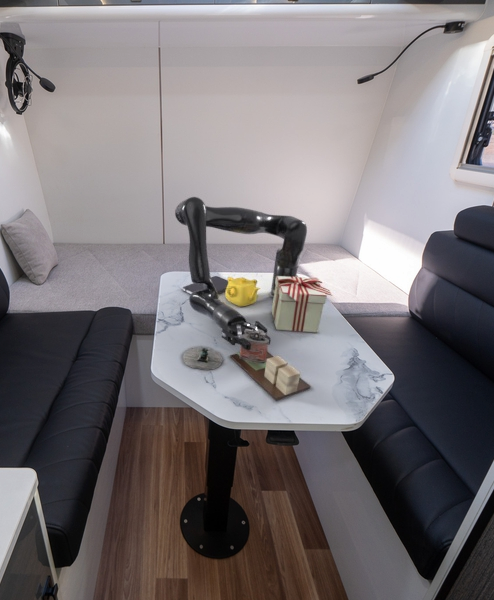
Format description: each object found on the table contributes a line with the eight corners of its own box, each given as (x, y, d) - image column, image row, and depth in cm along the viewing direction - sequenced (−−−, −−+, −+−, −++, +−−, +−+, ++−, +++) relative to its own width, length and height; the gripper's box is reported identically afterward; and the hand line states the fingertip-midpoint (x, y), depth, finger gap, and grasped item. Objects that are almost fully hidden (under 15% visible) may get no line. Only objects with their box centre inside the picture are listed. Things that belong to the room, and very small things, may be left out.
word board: (261, 348, 121) (263, 330, 118) (310, 388, 103) (314, 368, 100) (229, 357, 116) (231, 338, 113) (276, 400, 98) (279, 380, 95)
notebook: (202, 300, 152) (236, 287, 165) (202, 296, 151) (237, 283, 164) (181, 290, 161) (215, 278, 173) (181, 287, 160) (216, 275, 173)
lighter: (266, 358, 114) (270, 330, 109) (265, 365, 111) (269, 336, 106) (240, 353, 116) (243, 325, 111) (238, 359, 113) (241, 331, 109)
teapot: (259, 297, 156) (262, 274, 151) (258, 311, 144) (260, 286, 140) (226, 293, 158) (228, 271, 154) (222, 306, 147) (224, 282, 143)
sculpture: (228, 367, 111) (213, 354, 107) (204, 386, 113) (189, 373, 108) (214, 344, 121) (200, 331, 117) (193, 362, 123) (178, 349, 118)
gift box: (278, 336, 128) (286, 290, 120) (267, 311, 144) (273, 270, 137) (328, 337, 128) (338, 291, 120) (311, 312, 144) (319, 271, 137)
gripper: (210, 313, 117) (240, 339, 104) (247, 305, 123) (281, 328, 110) (208, 333, 121) (238, 361, 107) (245, 324, 126) (277, 350, 113)
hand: (259, 344), depth 109 cm, fingers closed on lighter, 6 cm apart
